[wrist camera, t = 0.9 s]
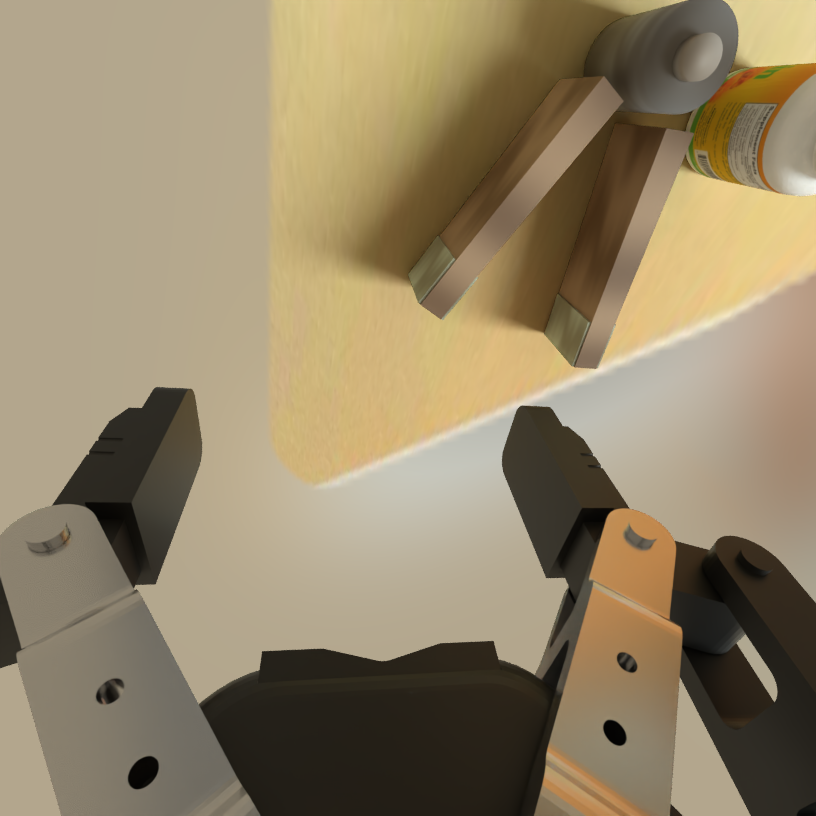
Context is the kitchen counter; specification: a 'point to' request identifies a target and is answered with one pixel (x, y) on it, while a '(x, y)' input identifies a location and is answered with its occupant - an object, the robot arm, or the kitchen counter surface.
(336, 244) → the kitchen counter surface
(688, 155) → the supplement bottle
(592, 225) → the tongs frame
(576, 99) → the tong arm
